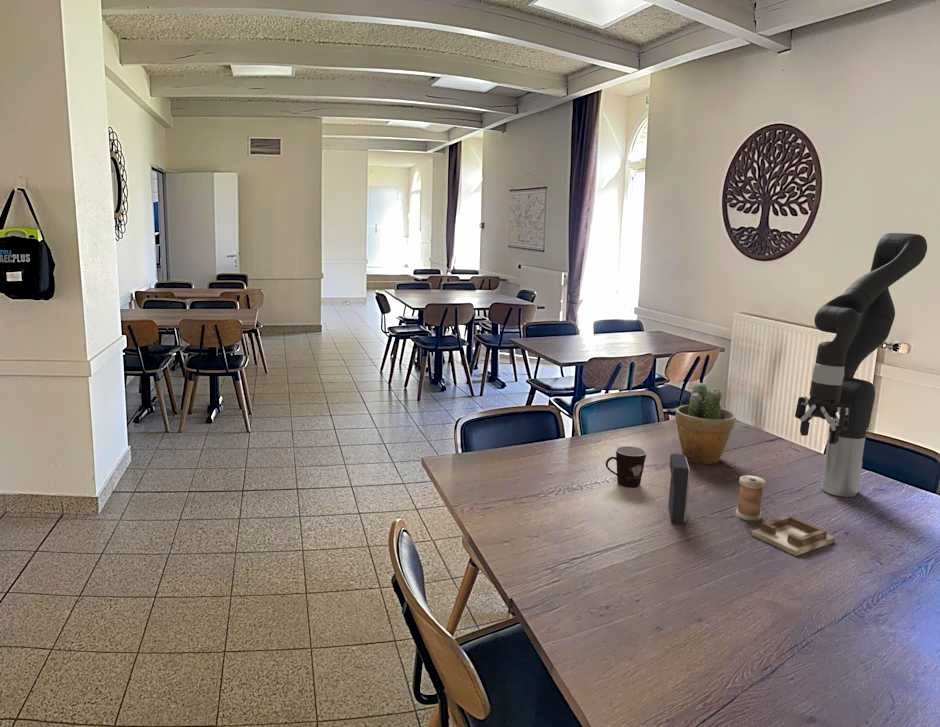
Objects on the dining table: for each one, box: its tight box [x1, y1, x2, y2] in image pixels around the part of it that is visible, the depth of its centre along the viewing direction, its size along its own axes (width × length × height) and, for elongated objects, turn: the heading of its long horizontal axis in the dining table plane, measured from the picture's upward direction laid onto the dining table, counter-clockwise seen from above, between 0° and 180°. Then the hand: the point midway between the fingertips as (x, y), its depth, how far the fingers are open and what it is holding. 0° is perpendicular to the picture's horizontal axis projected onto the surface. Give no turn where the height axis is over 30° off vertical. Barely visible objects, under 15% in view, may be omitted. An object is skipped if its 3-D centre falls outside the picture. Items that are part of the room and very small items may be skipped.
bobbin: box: [735, 474, 766, 522], centre depth 180 cm, size 6×6×10 cm
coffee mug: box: [605, 445, 647, 489], centre depth 200 cm, size 12×9×10 cm
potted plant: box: [674, 382, 737, 465], centre depth 222 cm, size 18×19×25 cm
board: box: [751, 514, 836, 557], centre depth 169 cm, size 15×12×3 cm
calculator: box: [667, 453, 691, 525], centre depth 179 cm, size 11×4×15 cm, turn 168°
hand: (818, 439), depth 189 cm, fingers open, 8 cm apart
